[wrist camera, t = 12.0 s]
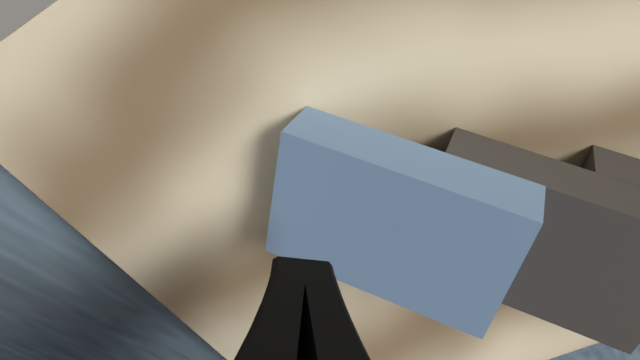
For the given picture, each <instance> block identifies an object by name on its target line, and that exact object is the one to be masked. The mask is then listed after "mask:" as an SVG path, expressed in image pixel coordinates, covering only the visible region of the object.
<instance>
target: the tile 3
mask: <svg viewBox="0 0 640 360" xmlns="http://www.w3.org/2000/svg"><path fill="white" fill-rule="evenodd" d="M581 168H584V169H587V170H590V171H593V172H596V173H600V174H603V175H606V176H609V177H612V178H615V179H618V180H621V181H624V182H627V183H630V184H634V185H637V186H640V159H638V158H635V157H631V156H628V155H625V154H622V153H618V152H615V151H612V150H609V149H605V148H602V147H599V146H596V145H593V146H592V147H591V149H590V151H589V153H588V155H587V157H586V159H585V160H584V162H583V164H582V166H581Z"/></svg>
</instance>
